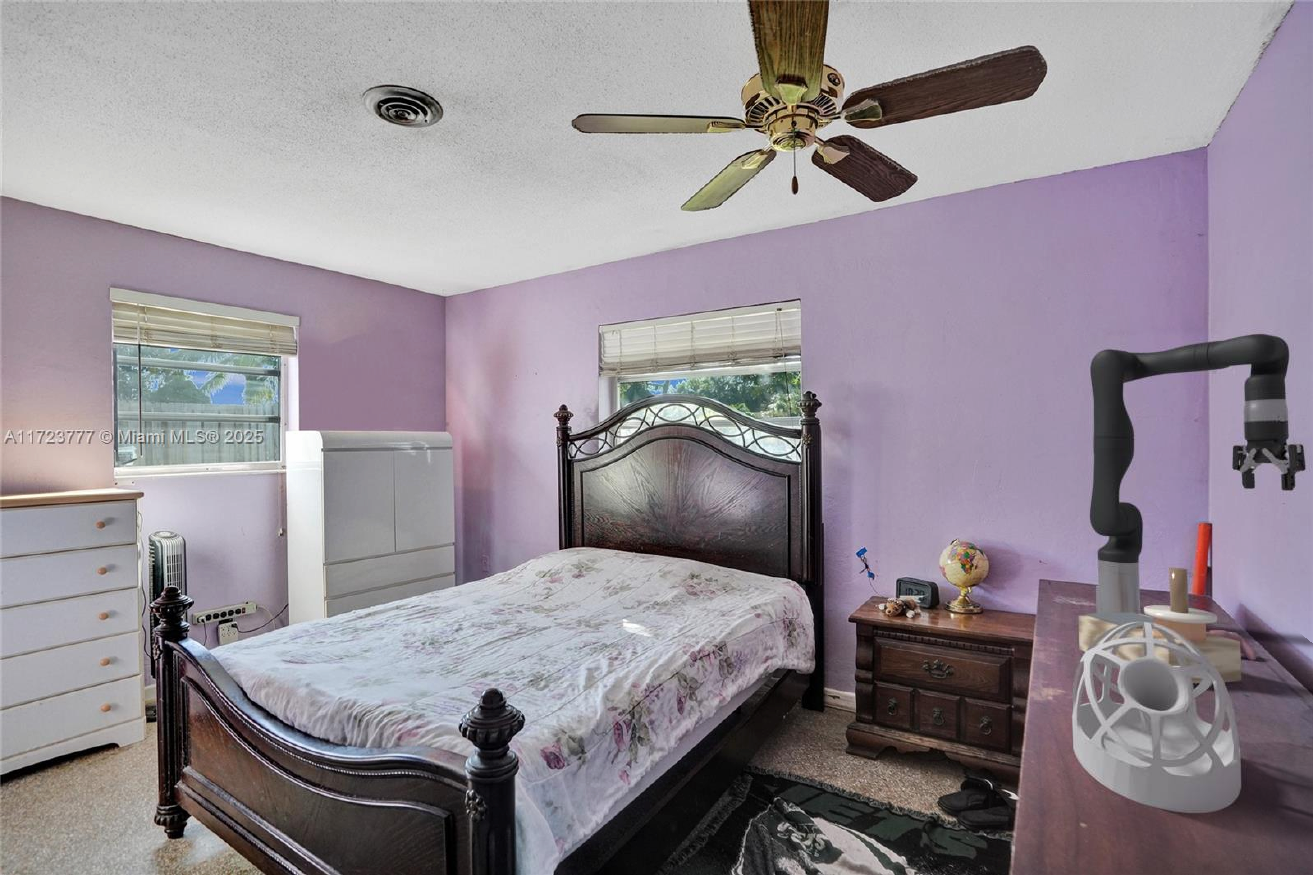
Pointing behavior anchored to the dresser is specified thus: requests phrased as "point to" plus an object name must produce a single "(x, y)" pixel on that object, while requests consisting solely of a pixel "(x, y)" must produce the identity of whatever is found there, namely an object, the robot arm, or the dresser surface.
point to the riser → (1214, 648)
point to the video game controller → (1244, 647)
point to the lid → (1179, 603)
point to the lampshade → (1156, 725)
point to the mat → (1122, 618)
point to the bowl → (1183, 629)
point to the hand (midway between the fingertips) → (1268, 489)
